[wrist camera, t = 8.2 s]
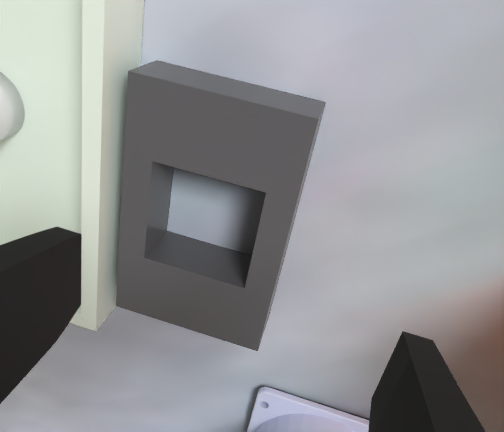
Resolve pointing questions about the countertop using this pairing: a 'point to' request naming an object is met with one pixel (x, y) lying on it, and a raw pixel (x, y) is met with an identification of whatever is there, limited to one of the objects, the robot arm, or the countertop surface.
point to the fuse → (10, 109)
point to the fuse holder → (215, 166)
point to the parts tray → (70, 130)
